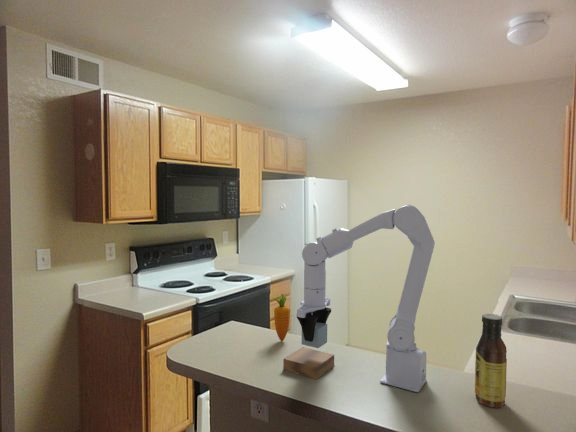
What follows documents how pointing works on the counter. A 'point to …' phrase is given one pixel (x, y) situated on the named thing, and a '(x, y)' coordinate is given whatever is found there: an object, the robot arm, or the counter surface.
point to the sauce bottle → (491, 363)
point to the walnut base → (308, 362)
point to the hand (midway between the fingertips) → (313, 337)
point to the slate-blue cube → (317, 336)
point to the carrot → (281, 318)
